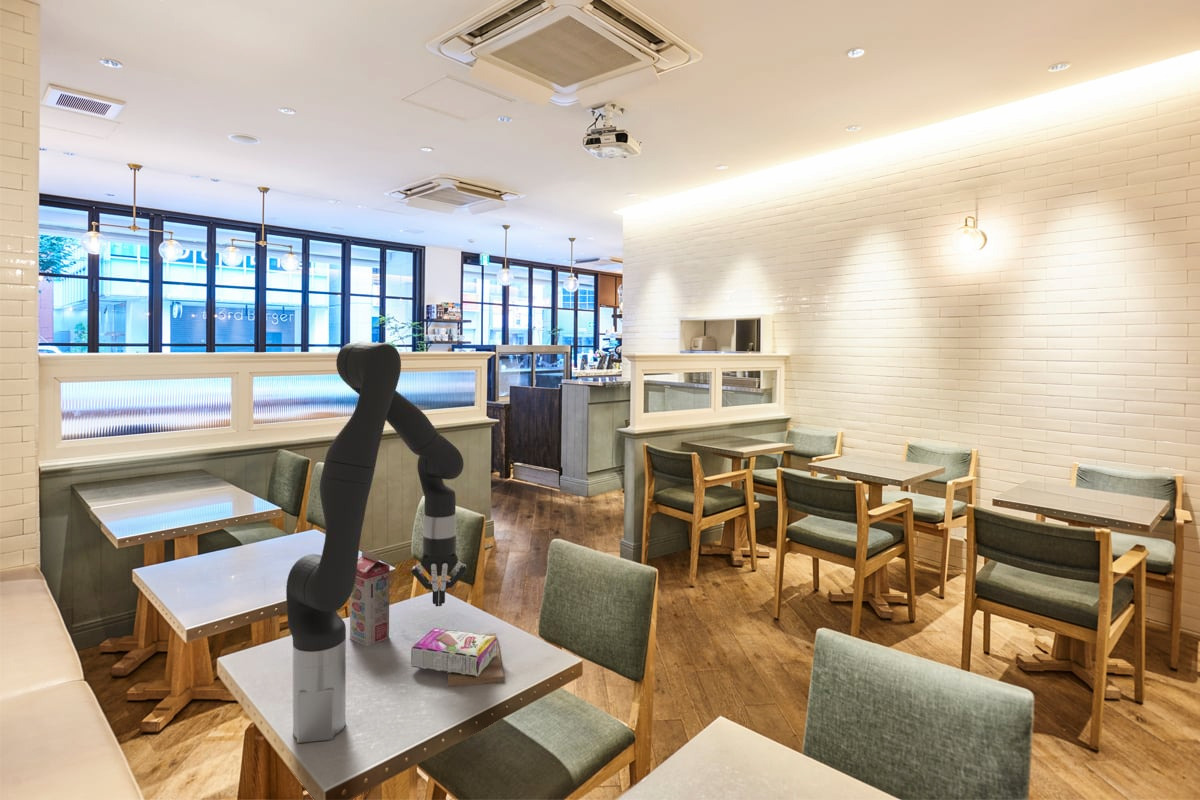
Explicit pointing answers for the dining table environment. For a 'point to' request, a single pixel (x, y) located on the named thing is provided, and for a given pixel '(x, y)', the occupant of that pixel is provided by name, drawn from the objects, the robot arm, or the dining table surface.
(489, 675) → the walnut board
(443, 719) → the dining table surface
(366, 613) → the juice carton
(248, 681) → the dining table surface
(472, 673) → the candy bar box
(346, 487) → the robot arm
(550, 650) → the dining table surface
